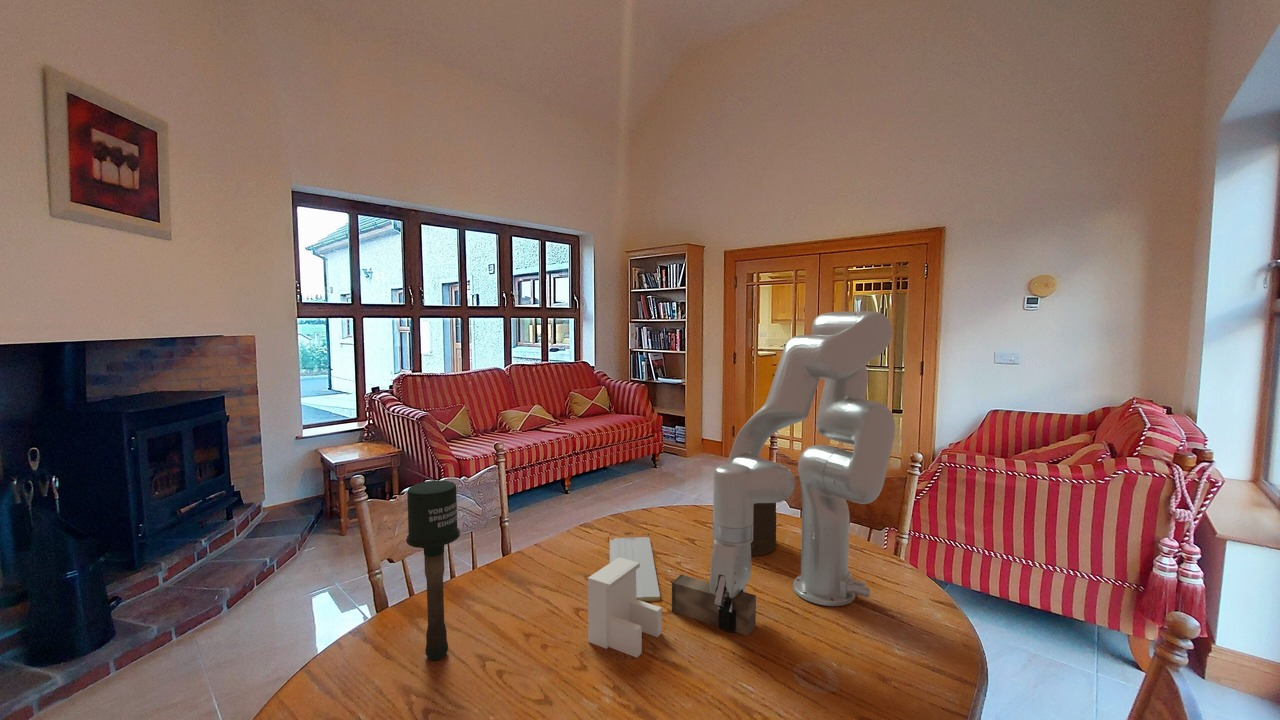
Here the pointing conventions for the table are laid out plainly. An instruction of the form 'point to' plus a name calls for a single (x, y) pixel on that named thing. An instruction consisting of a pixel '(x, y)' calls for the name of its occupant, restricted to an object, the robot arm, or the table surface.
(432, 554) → the potato masher grenade
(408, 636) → the table surface
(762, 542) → the wooden container
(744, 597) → the rail
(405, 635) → the table surface
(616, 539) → the baseboard molding
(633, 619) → the white forked bracket
